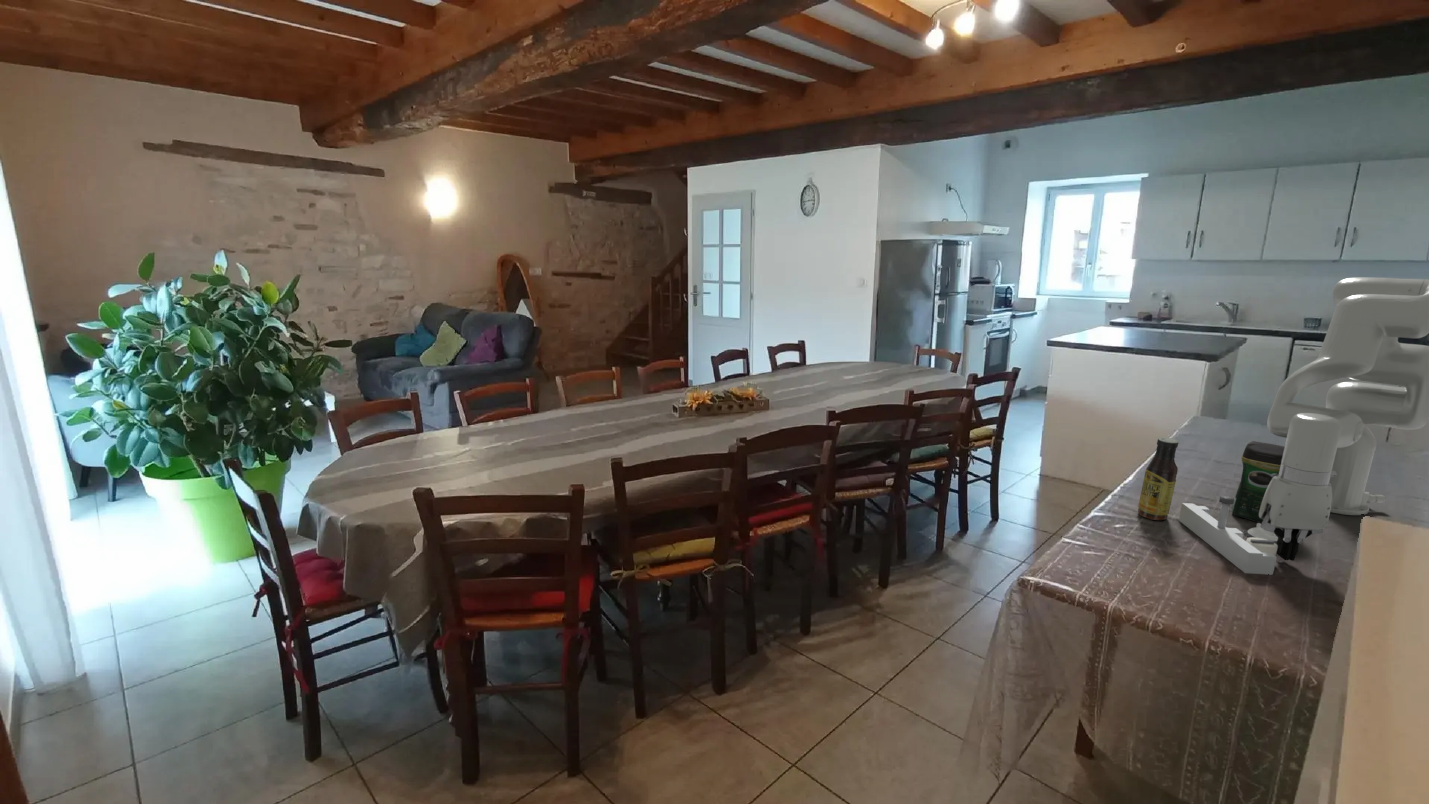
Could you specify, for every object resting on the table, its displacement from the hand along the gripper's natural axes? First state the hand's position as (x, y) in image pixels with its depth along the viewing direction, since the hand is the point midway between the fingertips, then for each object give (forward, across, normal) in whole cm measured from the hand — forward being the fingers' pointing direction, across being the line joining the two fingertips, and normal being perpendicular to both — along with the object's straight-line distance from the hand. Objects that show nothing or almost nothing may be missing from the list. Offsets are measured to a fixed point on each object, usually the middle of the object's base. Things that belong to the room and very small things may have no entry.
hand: (1284, 557), depth 132 cm
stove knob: (+2, -4, -12) cm, 13 cm away
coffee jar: (+1, -9, -23) cm, 25 cm away
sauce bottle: (+1, +16, -21) cm, 26 cm away
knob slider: (+1, +5, 0) cm, 5 cm away
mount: (+1, +8, -7) cm, 11 cm away
